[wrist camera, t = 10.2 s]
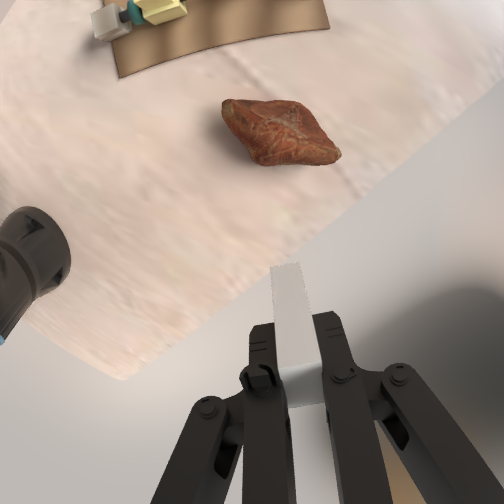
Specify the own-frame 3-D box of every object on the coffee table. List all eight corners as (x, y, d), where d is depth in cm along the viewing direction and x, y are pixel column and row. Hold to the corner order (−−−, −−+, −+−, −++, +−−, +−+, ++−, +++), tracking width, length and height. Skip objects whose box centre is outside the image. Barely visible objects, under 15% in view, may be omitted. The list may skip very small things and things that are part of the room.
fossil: (199, 114, 31) (252, 114, 23) (246, 68, 31) (306, 58, 24) (263, 184, 39) (319, 203, 32) (299, 139, 40) (357, 149, 33)
